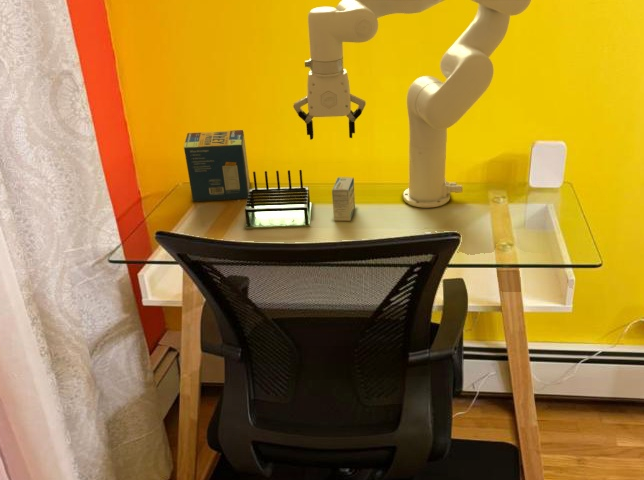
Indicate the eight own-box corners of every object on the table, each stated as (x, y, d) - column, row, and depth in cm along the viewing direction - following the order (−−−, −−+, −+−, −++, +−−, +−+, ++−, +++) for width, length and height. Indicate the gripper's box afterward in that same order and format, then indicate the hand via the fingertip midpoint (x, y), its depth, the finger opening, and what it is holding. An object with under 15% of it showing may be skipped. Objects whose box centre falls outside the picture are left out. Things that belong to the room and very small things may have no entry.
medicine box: (350, 221, 201) (349, 190, 196) (333, 220, 202) (331, 189, 197) (355, 207, 207) (354, 177, 202) (338, 207, 208) (337, 176, 203)
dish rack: (311, 204, 210) (309, 168, 204) (309, 226, 200) (307, 189, 193) (250, 206, 210) (245, 170, 204) (245, 229, 200) (240, 191, 194)
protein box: (195, 186, 222) (186, 132, 212) (250, 182, 222) (243, 129, 213) (192, 202, 213) (182, 147, 204) (249, 198, 214) (242, 144, 204)
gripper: (289, 71, 180) (295, 143, 190) (364, 69, 180) (366, 141, 190) (291, 62, 186) (297, 132, 196) (364, 59, 185) (366, 130, 196)
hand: (331, 136), depth 193 cm, fingers open, 9 cm apart
